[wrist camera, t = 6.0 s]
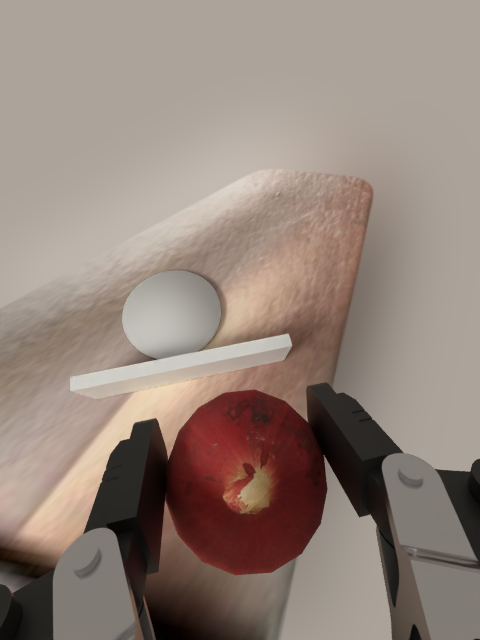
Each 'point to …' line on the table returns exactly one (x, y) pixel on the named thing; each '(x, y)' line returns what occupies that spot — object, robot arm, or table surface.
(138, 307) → the coaster
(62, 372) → the table surface
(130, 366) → the divider
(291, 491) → the onion
